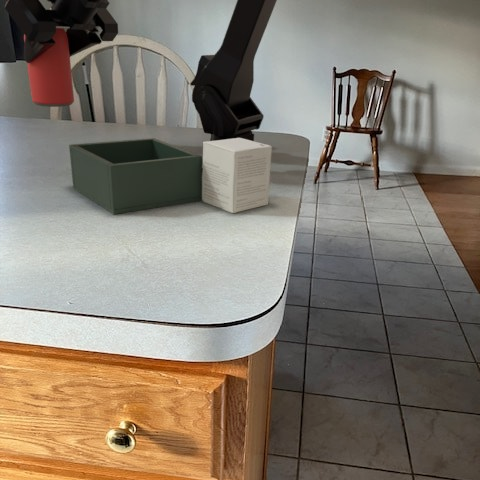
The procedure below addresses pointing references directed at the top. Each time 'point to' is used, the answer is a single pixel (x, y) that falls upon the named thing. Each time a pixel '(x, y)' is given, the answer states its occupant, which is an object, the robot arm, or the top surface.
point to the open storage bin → (136, 174)
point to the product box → (236, 174)
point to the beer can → (52, 74)
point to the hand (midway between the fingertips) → (42, 59)
